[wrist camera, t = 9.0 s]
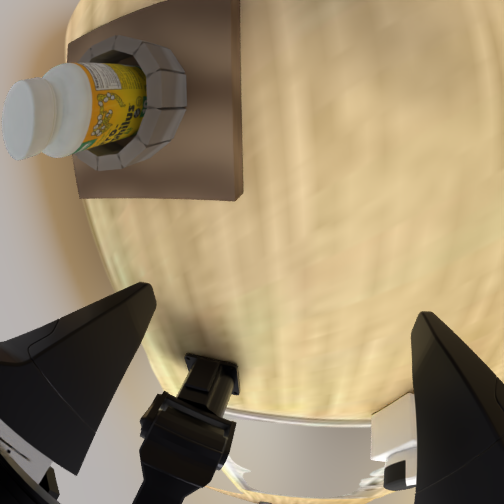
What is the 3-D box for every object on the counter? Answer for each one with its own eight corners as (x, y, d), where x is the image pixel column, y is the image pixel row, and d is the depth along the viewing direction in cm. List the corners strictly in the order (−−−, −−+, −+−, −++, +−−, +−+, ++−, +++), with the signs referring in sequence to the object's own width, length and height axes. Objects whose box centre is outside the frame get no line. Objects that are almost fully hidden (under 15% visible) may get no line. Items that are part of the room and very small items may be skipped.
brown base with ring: (243, 192, 19) (219, 218, 15) (93, 191, 22) (56, 211, 18) (239, -4, 12) (213, -33, 8) (83, 44, 15) (42, 43, 11)
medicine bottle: (402, 423, 29) (402, 493, 19) (370, 415, 29) (366, 493, 19) (438, 401, 26) (447, 477, 16) (408, 391, 26) (414, 478, 15)
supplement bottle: (138, 52, 14) (23, 44, 5) (176, 102, 15) (56, 115, 7) (95, 102, 16) (-10, 124, 8) (127, 151, 18) (20, 194, 9)
